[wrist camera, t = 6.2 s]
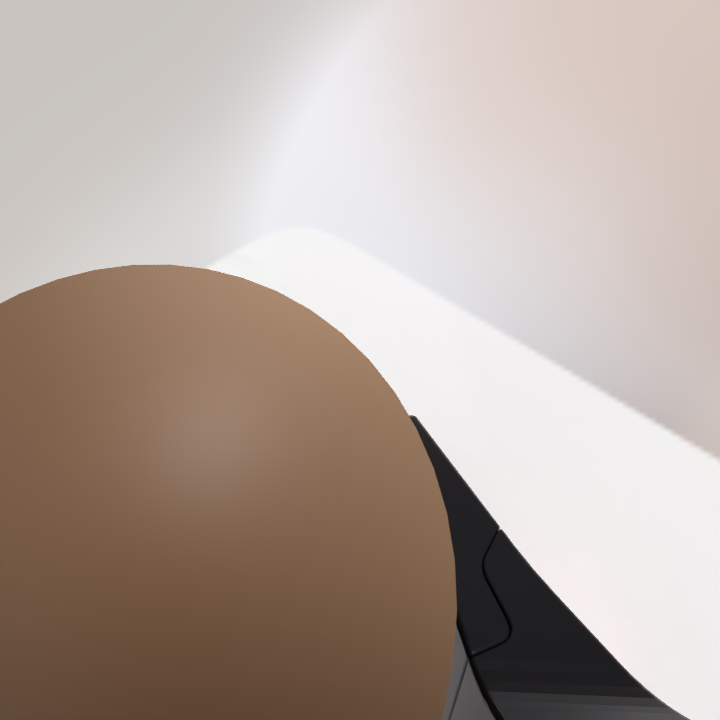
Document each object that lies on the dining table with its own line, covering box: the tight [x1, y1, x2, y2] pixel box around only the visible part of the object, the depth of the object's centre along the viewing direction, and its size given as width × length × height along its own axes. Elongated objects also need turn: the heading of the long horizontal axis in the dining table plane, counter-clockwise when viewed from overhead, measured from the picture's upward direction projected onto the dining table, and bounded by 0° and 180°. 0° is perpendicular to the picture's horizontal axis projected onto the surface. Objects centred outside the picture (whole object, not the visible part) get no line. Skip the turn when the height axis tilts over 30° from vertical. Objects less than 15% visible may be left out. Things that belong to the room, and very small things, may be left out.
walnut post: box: [0, 265, 457, 720], centre depth 9 cm, size 5×5×13 cm
